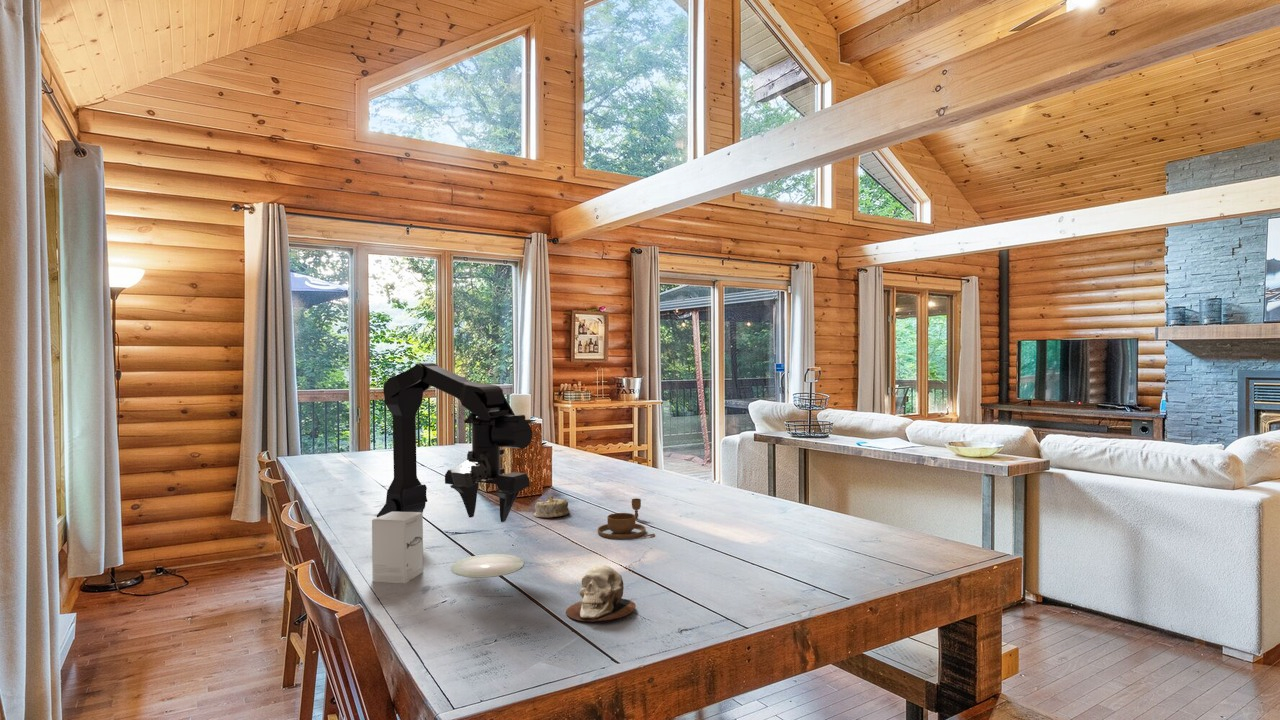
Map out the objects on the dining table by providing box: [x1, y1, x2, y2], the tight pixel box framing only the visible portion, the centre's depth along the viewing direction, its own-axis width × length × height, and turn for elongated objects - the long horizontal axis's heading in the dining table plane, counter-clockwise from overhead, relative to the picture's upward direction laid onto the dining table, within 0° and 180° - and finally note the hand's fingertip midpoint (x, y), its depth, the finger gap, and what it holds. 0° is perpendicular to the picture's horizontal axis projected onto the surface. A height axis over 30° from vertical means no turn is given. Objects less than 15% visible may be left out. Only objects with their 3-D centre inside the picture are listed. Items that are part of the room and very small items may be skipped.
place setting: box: [597, 498, 656, 540], centre depth 177 cm, size 18×20×6 cm
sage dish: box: [450, 553, 525, 578], centre depth 148 cm, size 15×15×1 cm
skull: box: [565, 564, 636, 623], centre depth 121 cm, size 12×10×10 cm
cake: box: [533, 495, 571, 518], centre depth 194 cm, size 10×10×5 cm
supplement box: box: [371, 512, 424, 584], centre depth 141 cm, size 7×7×13 cm
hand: (487, 519), depth 147 cm, fingers open, 8 cm apart
